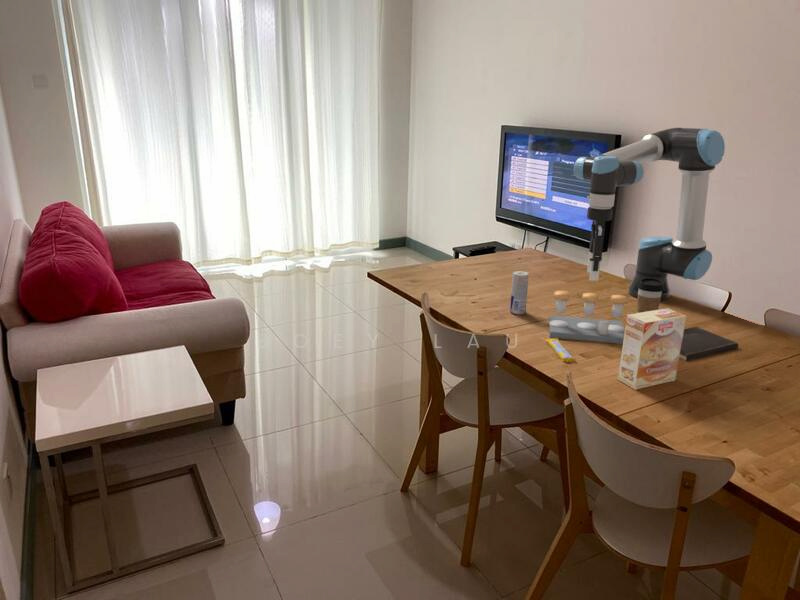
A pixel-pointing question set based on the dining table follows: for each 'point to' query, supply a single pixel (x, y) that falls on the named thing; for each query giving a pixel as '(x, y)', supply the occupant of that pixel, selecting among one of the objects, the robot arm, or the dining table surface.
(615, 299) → the knob near
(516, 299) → the beverage can
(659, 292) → the coffee cup
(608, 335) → the mount board
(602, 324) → the pot dial
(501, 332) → the dining table surface
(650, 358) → the coffeecake box
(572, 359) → the candy bar
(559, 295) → the knob far
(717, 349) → the hardcover book
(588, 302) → the knob middle
